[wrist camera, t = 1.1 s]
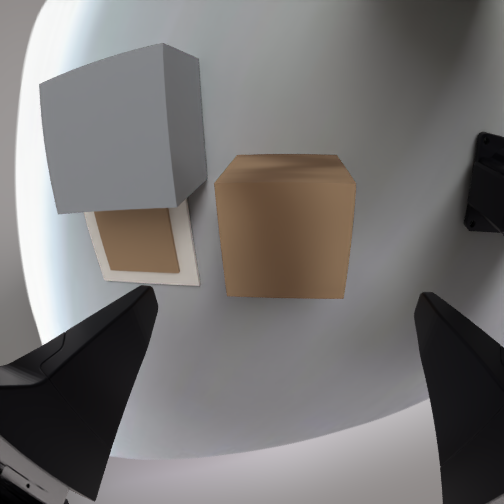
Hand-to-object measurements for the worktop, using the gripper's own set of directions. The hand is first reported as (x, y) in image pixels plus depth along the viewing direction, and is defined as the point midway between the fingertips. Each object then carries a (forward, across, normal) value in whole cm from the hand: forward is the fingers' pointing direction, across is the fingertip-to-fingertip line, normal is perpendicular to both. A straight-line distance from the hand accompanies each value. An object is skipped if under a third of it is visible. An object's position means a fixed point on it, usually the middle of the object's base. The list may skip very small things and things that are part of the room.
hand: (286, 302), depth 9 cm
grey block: (+9, +8, -5) cm, 13 cm away
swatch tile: (+9, +10, +2) cm, 14 cm away
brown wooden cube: (+9, 0, 0) cm, 9 cm away
